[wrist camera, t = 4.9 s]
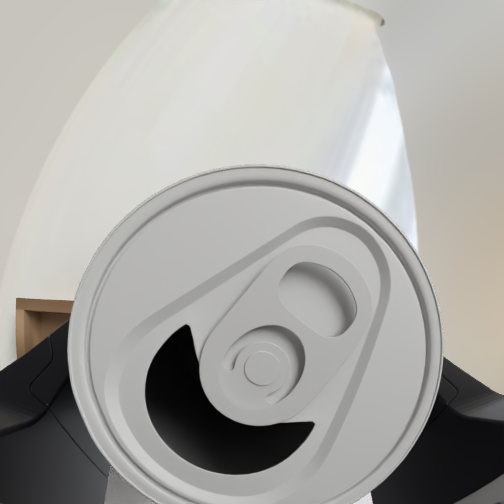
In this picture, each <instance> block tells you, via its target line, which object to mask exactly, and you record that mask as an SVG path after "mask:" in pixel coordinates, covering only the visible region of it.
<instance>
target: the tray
mask: <svg viewBox="0 0 504 504" xmlns="http://www.w3.org/2000/svg"><path fill="white" fill-rule="evenodd" d="M73 303H74V301H66V300H44V299H25V298H16V346H17V359H18V358H20V357H21V356H23V355H24V354H26V353H27V352H28V351H29V350H31V349H32V348H33V347H35V346H36V345H37V344H39V343H40V342H41V341H42V340H44V339H45V338H46V337H47V336H50V334H51V333H52V332H54V331H55V330H56V329H58V328H59V327H60V326H61V325H63V324H64V323H65V322H66V321H68V320H69V319H70V316H71V311H72V307H73Z"/></svg>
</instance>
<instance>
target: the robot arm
mask: <svg viewBox="0 0 504 504" xmlns="http://www.w3.org/2000/svg"><path fill="white" fill-rule="evenodd" d="M69 322H70V319H69V320H68V321H66V322H65V323H64V324H63V325H61V326H60V327H59V328H58V329H56V330H55V331H54V332H52V333H51V334H50V336H47V337H46V338H45V339H44V340H42V341H41V342H40V343H39V344H37V345H36V346H35V347H33V348H32V349H31V350H29V351H28V352H27V353H26V354H24V355H23V356H21V357H20V358H18V359H17V360H16V361H14V362H13V363H11V364H10V365H8V366H7V367H5V368H4V369H3V370H1V371H0V504H104V501H105V494H106V488H107V482H108V479H107V478H108V475H109V469H110V463H109V462H108V461H107V460H106V459H105V457H104V456H103V455H102V453H101V452H100V450H99V449H98V448H97V446H96V445H95V443H94V441H93V440H92V438H91V436H90V434H89V432H88V430H87V427H86V425H85V423H84V421H83V418H82V416H81V413H80V411H79V408H78V406H77V403H76V400H75V397H74V394H73V391H72V387H71V381H70V375H69V366H68V353H67V347H68V331H69ZM371 496H372V501H373V504H504V395H501V394H499V393H496V392H494V391H493V390H491V389H490V388H488V387H487V386H485V385H484V384H482V383H481V382H479V381H478V380H476V379H475V378H473V377H472V376H470V375H469V374H467V373H466V372H464V371H463V370H461V369H460V368H459V367H457V366H456V365H454V364H453V363H451V362H450V361H449V360H447V359H446V358H445V357H443V366H442V374H441V379H440V384H439V389H438V392H437V396H436V399H435V402H434V405H433V408H432V411H431V413H430V416H429V418H428V420H427V422H426V424H425V426H424V428H423V430H422V432H421V434H420V436H419V437H418V439H417V441H416V442H415V444H414V446H413V447H412V449H411V450H410V451H409V453H408V454H407V456H406V457H405V458H404V460H403V461H402V462H401V463H400V464H399V465H398V467H397V468H396V469H395V470H394V471H393V472H392V473H391V474H390V475H389V476H388V477H387V478H386V479H385V480H384V481H383V482H382V483H381V484H379V485H378V486H377V487H376V488H374V489H373V490H372V491H371Z"/></svg>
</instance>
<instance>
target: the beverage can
mask: <svg viewBox="0 0 504 504" xmlns="http://www.w3.org/2000/svg"><path fill="white" fill-rule="evenodd" d="M443 352H444V339H443V326H442V319H441V312H440V308H439V303H438V300H437V296H436V293H435V289H434V286H433V284H432V281H431V279H430V276H429V274H428V271H427V269H426V267H425V265H424V263H423V261H422V259H421V257H420V256H419V254H418V252H417V251H416V249H415V248H414V246H413V245H412V243H411V242H410V241H409V239H408V238H407V236H406V235H405V234H404V233H403V231H402V230H401V229H400V228H399V227H398V226H397V225H396V224H395V223H394V222H393V221H392V219H391V218H390V217H389V216H388V215H387V214H386V213H384V212H383V211H382V210H381V209H380V208H379V207H377V206H376V205H375V204H374V203H372V202H371V201H369V200H368V199H367V198H365V197H364V196H362V195H361V194H359V193H358V192H356V191H355V190H353V189H351V188H349V187H347V186H345V185H343V184H341V183H339V182H337V181H335V180H333V179H330V178H328V177H325V176H322V175H319V174H316V173H313V172H309V171H305V170H301V169H297V168H292V167H286V166H279V165H265V164H252V165H237V166H229V167H223V168H218V169H213V170H209V171H206V172H202V173H199V174H196V175H193V176H190V177H188V178H185V179H182V180H180V181H178V182H176V183H174V184H172V185H170V186H167V187H166V188H164V189H162V190H161V191H159V192H157V193H155V194H154V195H152V196H151V197H149V198H148V199H146V200H145V201H144V202H142V203H141V204H139V205H138V206H137V207H136V208H135V209H133V210H132V211H131V212H130V213H129V214H128V215H126V216H125V217H124V218H123V219H122V220H121V221H120V222H119V223H118V224H117V225H116V226H115V227H114V229H113V230H112V231H111V232H110V233H109V234H108V236H107V237H106V238H105V240H104V241H103V242H102V244H101V245H100V247H99V248H98V249H97V251H96V253H95V254H94V256H93V257H92V259H91V261H90V263H89V265H88V267H87V269H86V271H85V273H84V275H83V278H82V280H81V282H80V284H79V287H78V290H77V293H76V296H75V300H74V303H73V307H72V311H71V316H70V322H69V331H68V347H67V353H68V366H69V375H70V381H71V387H72V391H73V394H74V397H75V400H76V403H77V406H78V408H79V411H80V413H81V416H82V418H83V421H84V423H85V425H86V427H87V430H88V432H89V434H90V436H91V438H92V440H93V441H94V443H95V445H96V446H97V448H98V449H99V450H100V452H101V453H102V455H103V456H104V457H105V459H106V460H107V461H108V462H109V463H110V465H111V466H112V467H113V468H114V469H115V471H116V472H117V473H118V474H119V475H120V476H121V477H122V478H123V479H124V480H126V481H127V482H128V483H129V484H130V485H131V486H132V487H134V488H135V489H136V490H137V491H139V492H140V493H141V494H143V495H144V496H145V497H147V498H149V499H150V500H152V501H153V502H155V503H156V504H353V503H355V502H356V501H358V500H359V499H361V498H362V497H364V496H365V495H366V494H368V493H369V492H370V491H372V490H373V489H374V488H376V487H377V486H378V485H379V484H381V483H382V482H383V481H384V480H385V479H386V478H387V477H388V476H389V475H390V474H391V473H392V472H393V471H394V470H395V469H396V468H397V467H398V465H399V464H400V463H401V462H402V461H403V460H404V458H405V457H406V456H407V454H408V453H409V451H410V450H411V449H412V447H413V446H414V444H415V442H416V441H417V439H418V437H419V436H420V434H421V432H422V430H423V428H424V426H425V424H426V422H427V420H428V418H429V416H430V413H431V411H432V408H433V405H434V402H435V399H436V396H437V392H438V389H439V384H440V379H441V374H442V366H443Z"/></svg>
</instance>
